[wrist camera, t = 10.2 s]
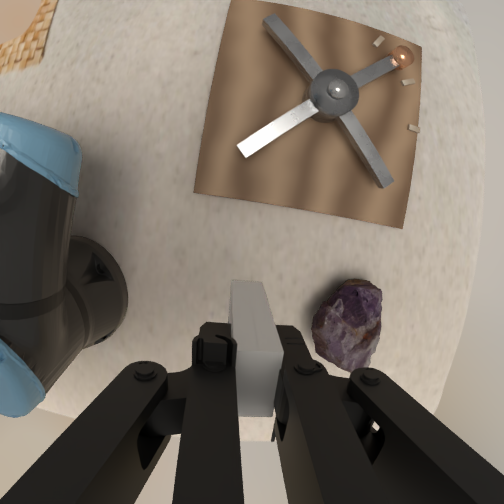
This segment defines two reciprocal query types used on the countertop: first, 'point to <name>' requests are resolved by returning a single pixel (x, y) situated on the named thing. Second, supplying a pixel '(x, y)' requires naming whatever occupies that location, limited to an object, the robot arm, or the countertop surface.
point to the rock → (349, 325)
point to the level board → (309, 131)
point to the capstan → (328, 99)
